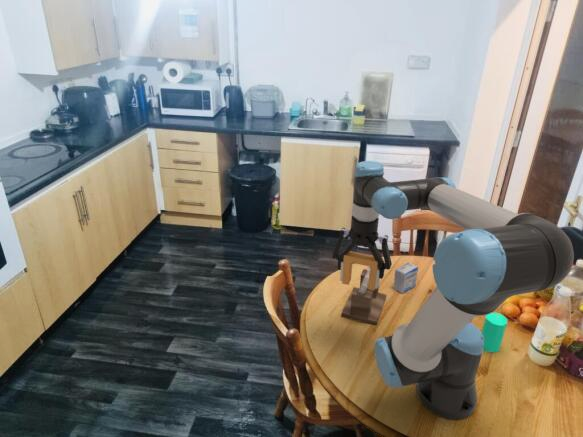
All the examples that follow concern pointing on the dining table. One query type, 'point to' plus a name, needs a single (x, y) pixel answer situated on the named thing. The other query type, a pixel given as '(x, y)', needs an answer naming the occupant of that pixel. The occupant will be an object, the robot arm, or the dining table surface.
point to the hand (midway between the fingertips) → (359, 282)
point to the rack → (364, 302)
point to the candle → (493, 331)
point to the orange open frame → (362, 260)
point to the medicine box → (405, 277)
